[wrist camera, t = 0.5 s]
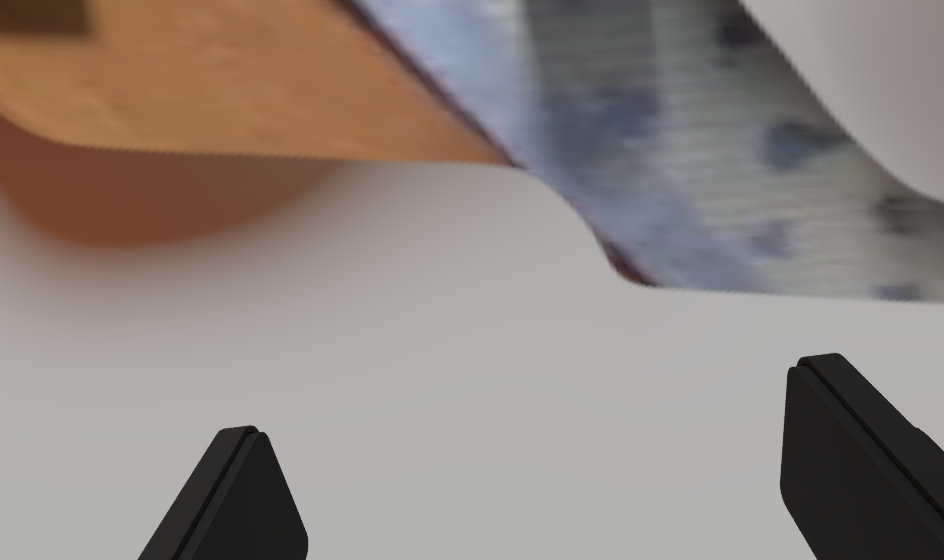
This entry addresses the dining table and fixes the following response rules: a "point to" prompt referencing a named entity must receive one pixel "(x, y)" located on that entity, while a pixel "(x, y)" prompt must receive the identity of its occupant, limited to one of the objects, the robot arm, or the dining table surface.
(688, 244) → the dining table surface
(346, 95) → the dining table surface
